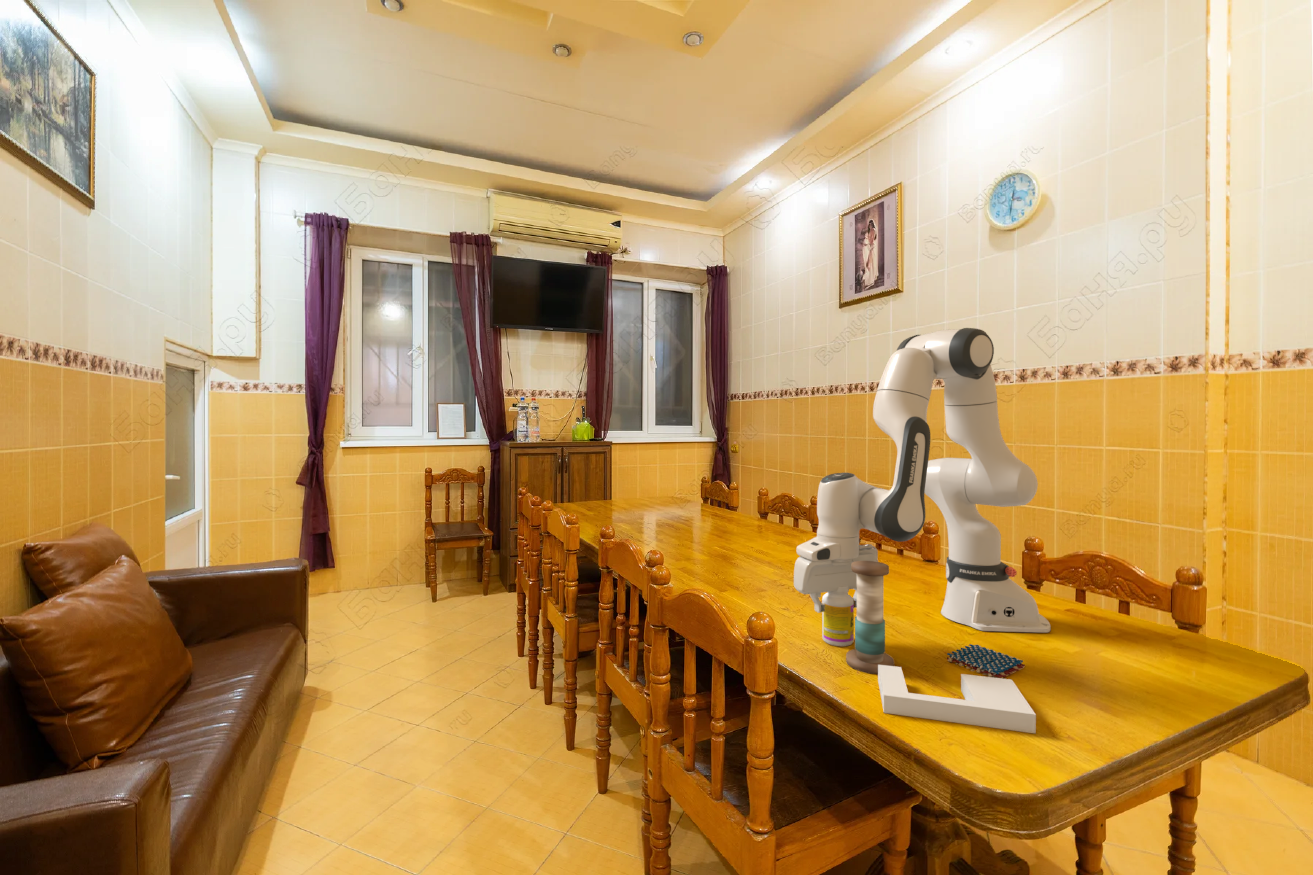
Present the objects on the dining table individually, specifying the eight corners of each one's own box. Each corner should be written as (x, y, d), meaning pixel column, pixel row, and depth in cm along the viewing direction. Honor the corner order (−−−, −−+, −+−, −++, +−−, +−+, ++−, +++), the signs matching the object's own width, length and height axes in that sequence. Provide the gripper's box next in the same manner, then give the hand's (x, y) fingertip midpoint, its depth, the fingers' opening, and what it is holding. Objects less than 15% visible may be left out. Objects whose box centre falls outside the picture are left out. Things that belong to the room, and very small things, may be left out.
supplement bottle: (855, 648, 119) (855, 589, 118) (823, 646, 120) (823, 587, 120) (851, 636, 125) (851, 580, 125) (820, 634, 127) (820, 578, 126)
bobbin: (891, 656, 114) (891, 560, 114) (896, 676, 106) (896, 572, 105) (845, 651, 117) (845, 558, 116) (846, 670, 109) (846, 569, 108)
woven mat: (999, 684, 103) (999, 673, 103) (944, 663, 113) (944, 653, 112) (1027, 670, 109) (1027, 660, 109) (973, 651, 118) (973, 641, 118)
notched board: (1011, 696, 98) (1011, 679, 98) (1035, 733, 87) (1035, 714, 86) (878, 680, 105) (878, 664, 104) (883, 712, 93) (883, 695, 93)
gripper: (867, 540, 128) (867, 599, 129) (789, 547, 122) (789, 609, 122) (886, 546, 122) (886, 608, 123) (805, 553, 116) (805, 619, 116)
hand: (837, 609), depth 122 cm, fingers open, 8 cm apart
